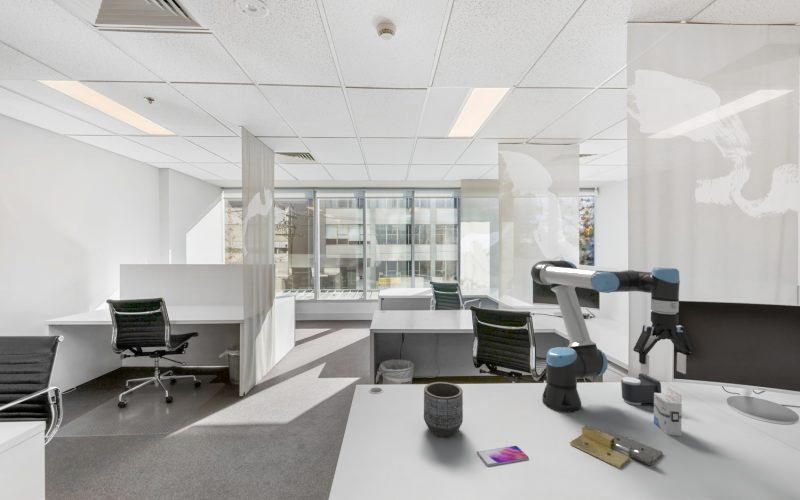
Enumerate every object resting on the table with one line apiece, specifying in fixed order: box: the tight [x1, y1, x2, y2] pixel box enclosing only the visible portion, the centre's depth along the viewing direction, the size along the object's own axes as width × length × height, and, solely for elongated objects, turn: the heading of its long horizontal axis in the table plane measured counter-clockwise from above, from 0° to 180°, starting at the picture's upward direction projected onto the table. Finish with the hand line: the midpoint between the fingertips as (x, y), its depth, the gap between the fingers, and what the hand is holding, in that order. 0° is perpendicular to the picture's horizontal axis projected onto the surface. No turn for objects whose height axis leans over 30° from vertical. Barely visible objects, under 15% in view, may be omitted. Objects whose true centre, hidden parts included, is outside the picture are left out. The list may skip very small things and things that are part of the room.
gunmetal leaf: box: [607, 431, 664, 466], centre depth 108 cm, size 15×11×3 cm
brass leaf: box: [569, 425, 631, 469], centre depth 108 cm, size 15×11×3 cm
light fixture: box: [620, 372, 662, 406], centre depth 143 cm, size 11×13×11 cm
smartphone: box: [476, 445, 530, 467], centre depth 104 cm, size 7×1×15 cm
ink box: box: [653, 385, 683, 436], centre depth 121 cm, size 9×5×15 cm, turn 168°
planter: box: [423, 381, 464, 438], centre depth 120 cm, size 14×14×15 cm
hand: (662, 372), depth 113 cm, fingers open, 13 cm apart
